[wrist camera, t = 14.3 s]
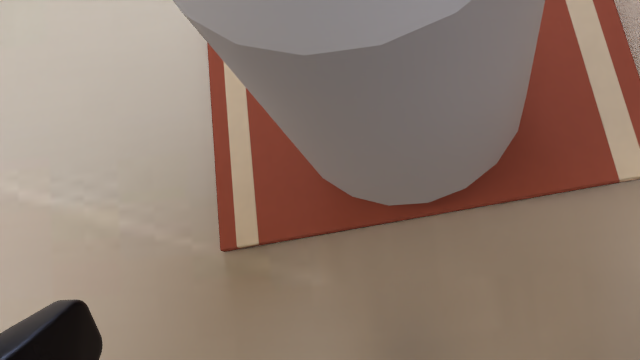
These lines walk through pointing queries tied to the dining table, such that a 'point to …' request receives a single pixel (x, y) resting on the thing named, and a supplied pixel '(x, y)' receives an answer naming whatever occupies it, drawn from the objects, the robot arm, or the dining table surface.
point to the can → (383, 84)
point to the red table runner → (491, 188)
